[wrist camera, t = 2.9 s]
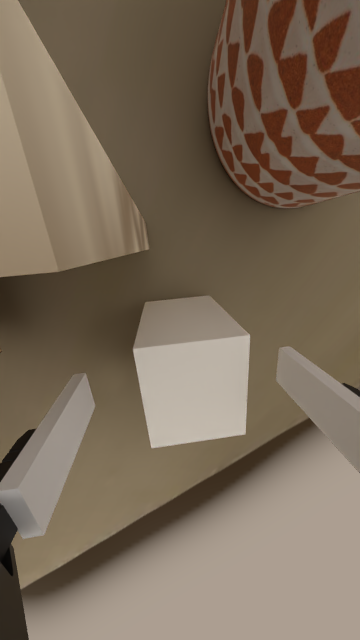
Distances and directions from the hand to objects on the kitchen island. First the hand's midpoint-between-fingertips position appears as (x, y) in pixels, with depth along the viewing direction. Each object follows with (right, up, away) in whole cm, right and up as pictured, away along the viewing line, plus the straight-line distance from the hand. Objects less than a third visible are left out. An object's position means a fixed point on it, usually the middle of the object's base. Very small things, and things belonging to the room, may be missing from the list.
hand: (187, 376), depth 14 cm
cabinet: (0, +3, +6) cm, 7 cm away
